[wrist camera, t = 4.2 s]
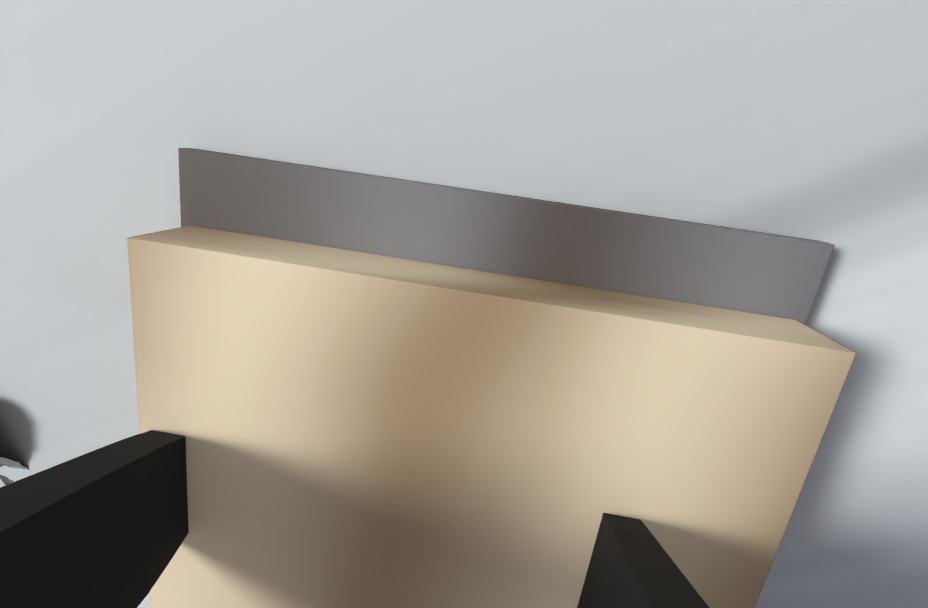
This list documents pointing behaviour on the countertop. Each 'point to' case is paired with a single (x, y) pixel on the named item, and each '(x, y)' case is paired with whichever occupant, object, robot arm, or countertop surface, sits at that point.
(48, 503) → the robot arm
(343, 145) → the countertop surface
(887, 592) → the countertop surface
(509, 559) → the plank
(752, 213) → the countertop surface
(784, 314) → the floor row
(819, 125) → the countertop surface
